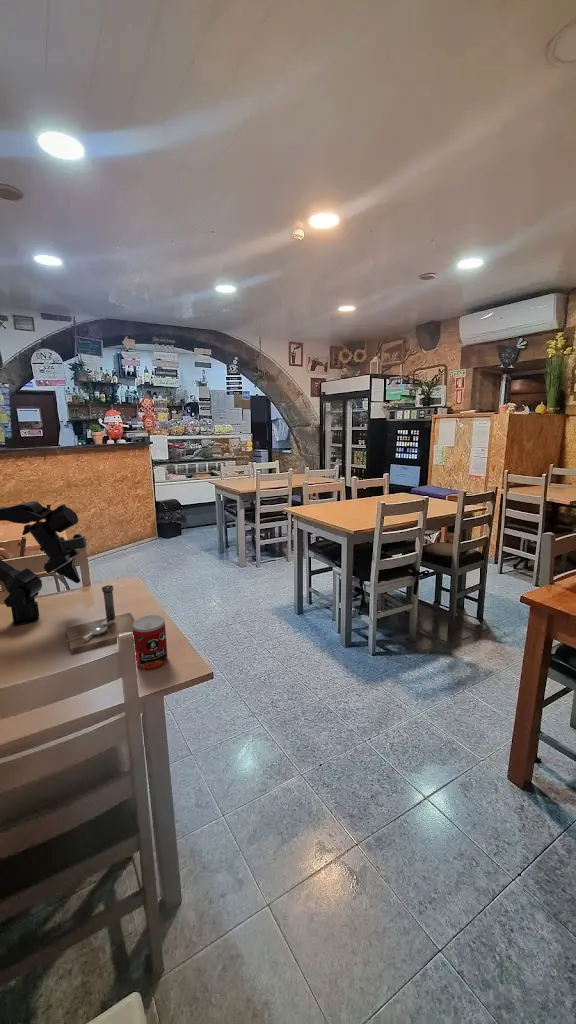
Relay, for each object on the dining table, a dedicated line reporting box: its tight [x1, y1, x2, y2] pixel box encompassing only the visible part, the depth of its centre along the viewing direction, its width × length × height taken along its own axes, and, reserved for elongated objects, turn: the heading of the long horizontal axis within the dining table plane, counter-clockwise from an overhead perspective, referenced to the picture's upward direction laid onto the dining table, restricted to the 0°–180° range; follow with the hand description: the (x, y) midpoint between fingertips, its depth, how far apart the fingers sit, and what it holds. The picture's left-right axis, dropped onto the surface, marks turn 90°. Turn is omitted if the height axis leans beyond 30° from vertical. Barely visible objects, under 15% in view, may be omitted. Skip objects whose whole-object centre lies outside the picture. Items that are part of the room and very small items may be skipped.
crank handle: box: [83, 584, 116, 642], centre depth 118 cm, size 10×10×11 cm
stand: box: [65, 612, 136, 655], centre depth 120 cm, size 19×14×2 cm
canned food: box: [133, 614, 168, 671], centre depth 105 cm, size 8×8×11 cm
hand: (78, 582), depth 128 cm, fingers closed
